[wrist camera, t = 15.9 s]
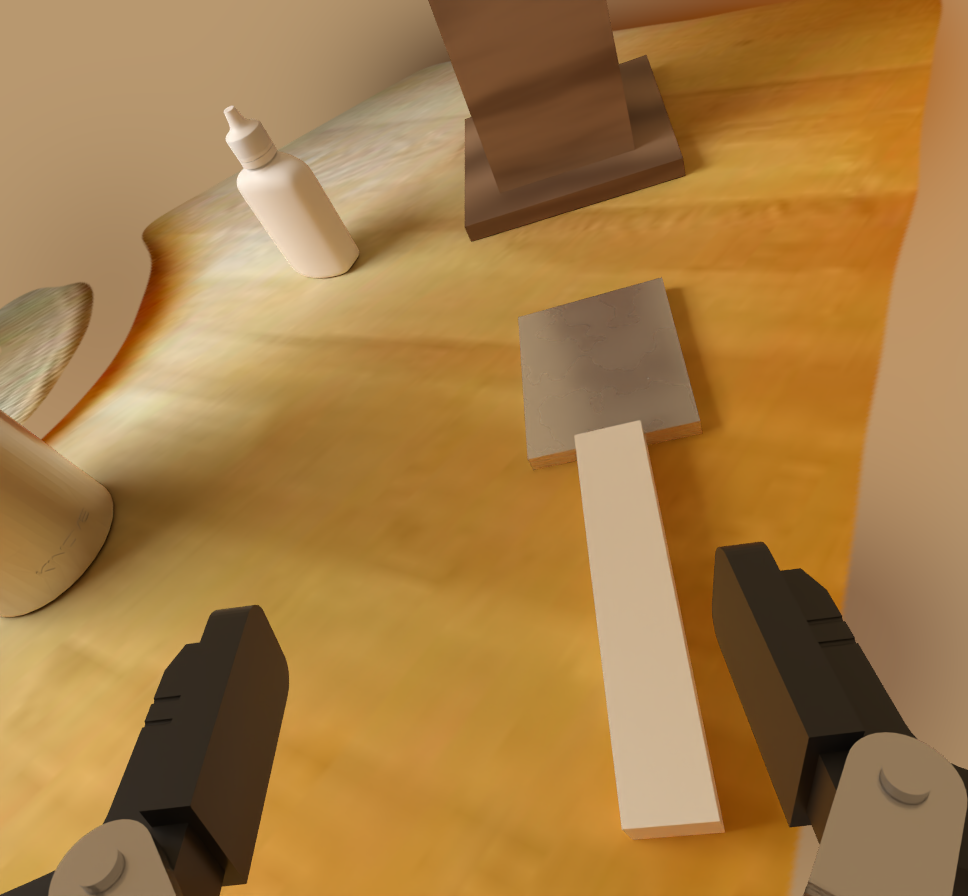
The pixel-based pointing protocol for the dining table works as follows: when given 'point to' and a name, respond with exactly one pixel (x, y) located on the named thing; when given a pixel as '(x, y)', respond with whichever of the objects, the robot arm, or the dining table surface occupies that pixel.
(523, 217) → the shelf stand
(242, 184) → the eye dropper bottle
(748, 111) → the dining table surface
